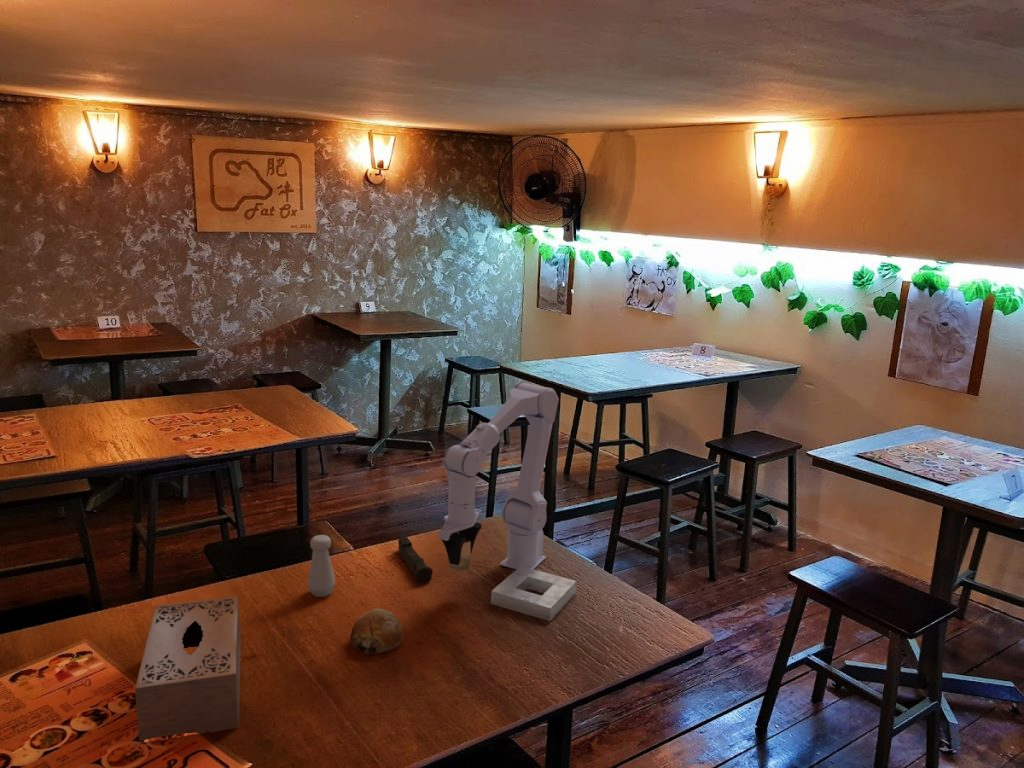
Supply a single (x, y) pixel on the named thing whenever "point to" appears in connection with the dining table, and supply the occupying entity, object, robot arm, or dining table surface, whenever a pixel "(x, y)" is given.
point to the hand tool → (414, 561)
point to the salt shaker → (321, 567)
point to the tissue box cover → (190, 669)
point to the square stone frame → (520, 600)
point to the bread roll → (376, 632)
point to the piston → (463, 557)
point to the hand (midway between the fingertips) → (460, 559)
